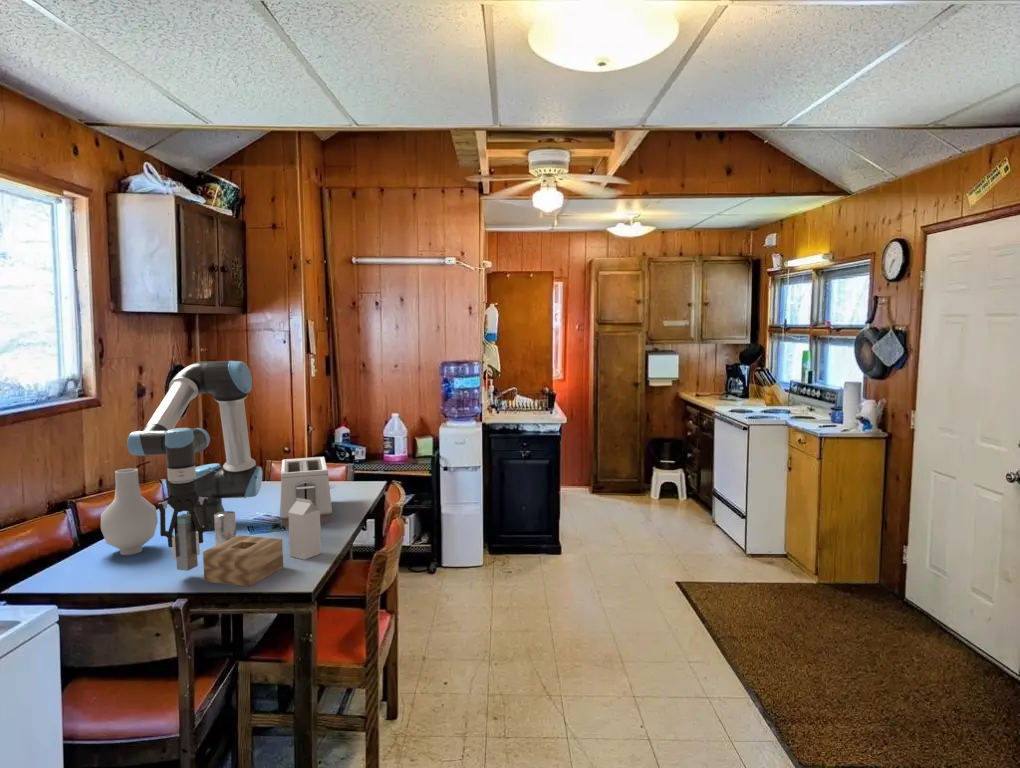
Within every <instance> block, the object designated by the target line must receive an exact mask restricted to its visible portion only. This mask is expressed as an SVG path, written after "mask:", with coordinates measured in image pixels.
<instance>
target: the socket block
mask: <svg viewBox="0 0 1020 768" xmlns="http://www.w3.org/2000/svg"><path fill="white" fill-rule="evenodd" d="M283 547H284V546H283V538H275V537H264V536H251V535H241V534H240V535H239V534H238V535H236V537H234V538H232V539H230V540H227V541H225V542H223V543H221V544H219V545H217V546H216V545H215V546H212V547H211V548H208V549H206V550H204V551H202V560H203V561H202V562H203V580H204V582H208V583H217V584H225V585H234V586H235V585H236V586H243V587H252V586H254V585H256V584H257V583H258V582H260V581H262V580H263V579H266V578H267V577H268V576H271V575H272V574H274V573H275V572H277V571H279V570H280V569H282V568H284V549H283ZM273 572H274V573H273Z"/></svg>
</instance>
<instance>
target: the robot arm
mask: <svg viewBox="0 0 1020 768" xmlns="http://www.w3.org/2000/svg"><path fill="white" fill-rule="evenodd" d="M252 383H253V377H252V374H251V370H250V368H249V366H248V365H247V364H246V363H245V362H244V361H239V360H236V361H235V360H220V361H219V360H216V361H214V360H213V361H207V360H205V361H198V362H194V363H191V364H190V365H187V366H186V367H184V368H182V369H181V370H180V371H178V373H176V374H175V375H174V376H173V378H171V381H170V382H169V383H168V384H169V385H168V391H167V392H166V394H165V395H164V398H163V399H162V401H161V402H160V403H159V405H158V406H157V408H156V409H155V411H154V413H153V414H152V415H151V417H150V419H149V421H148V422H147V424H146V425H145V427H143V429H142V430H138V431H132V432H131V433H129V434H128V437H127V442H126V444H127V445H126V446H127V449H128V452H129V453H130V454H131V455H132V456H142V457H143V456H144V457H147V456H148V457H149V456H165V457H166V470H167V481H169V482H168V483H167V489H168V498H167V500H165V501H159V502H158V503H157V508H158V509H159V513H160V514H159V515H160V516H159V519H160V520H159V523H160V527H159V530H160V534H159V535H160V537H166V538H167V546H168V548H172V558H173V559H176V545H175V534H174V531H175V530H174V526H175V523H176V519H177V516H179V515H178V514H179V513H182V512H186V514H191V516H192V519H193V521H194V523H195V527H196V549H197V556H200V554H201V553H200V552H201V550H200V544H203V543H204V532H206V531H212V530H215V521H214V515H215V514H216V513H219V512H224V511H225V508H224V506H223V501H222V499H239V498H240V499H242V498H244V499H246V498H254V497H256V496H257V495H259V493H260V491H261V487H262V482H263V468H262V467H261V466H259V465H257V463H256V460H255V459H253V458H252V456H251V448H250V441H249V440H250V439H249V432H248V430H249V429H248V422H247V421H248V420H247V416H246V414H247V413H246V407H245V400H246V399H247V397H248V395H249V394H248V393H250V392H251V391H252V389H253V384H252ZM200 394H201V395H202V394H212V395H213V396H212V397H213V400H214V401H215V402H216V403H218V405H219V415H220V420H221V421H220V422H221V428H222V436H223V444H224V452H225V460H226V461H225V463H224V464H223V465H222V466H221V464H220V463H208V464H203V465H199V466H196V457H195V456H196V455H197V454H199V453H202V452H203V451H205V449H206V448H207V447H208V446H209V445H210V441H211V437H210V434H209V433H208V431H207V430H206V429H203V428H200V427H196V428H189V427H176V425H177V424H178V422H179V420H180V419H181V417H182V416H183V414H184V412H185V411H186V409H187V407H188V405H189V403H190V402H191V401H192V400H194V399H195V398H196V397H197V396H198V395H200ZM175 427H176V428H175ZM168 505H169V506H170V507H171V508H172V510H173V513H172V517H171V519H170V520H171V521H170V523H169V527H168V530H166V509H167V508H168Z"/></svg>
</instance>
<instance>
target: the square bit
mask: <svg viewBox="0 0 1020 768" xmlns="http://www.w3.org/2000/svg"><path fill="white" fill-rule="evenodd" d="M173 531H174V535H175V545H176V558H175V559H176V561H175V562H176V570H178V571H187V572H188V571H190V570H193V569H195V568H196V567H198V566H199V564H198V563H199V562H198V561H199V560H198V555H197V549H196V532H197V531H196V527H195V523H194V521H193V519H192V516H191V514H187V513H182V514H179V515H177V519H176V523H175V526H174V530H173Z"/></svg>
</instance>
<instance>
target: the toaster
mask: <svg viewBox="0 0 1020 768" xmlns="http://www.w3.org/2000/svg"><path fill="white" fill-rule="evenodd" d="M281 470H282V471H281ZM281 470H280V471H281V472H280V473H281V475H280V507H279V508H280V509H279V511H280V513H279V516H280V524H281V526H284V527H283V528H286V527H287V528H289V514H288V512H289V510H290V509H291V508H292V506H293V505H294V504H295V502H296V498H301V499H306V500H311V502H312V503H313V505H314V506H315V507H316V508H318V509H319V510H320V524H327V523H333V517H332V514H333V513H332V512H333V508H332V507H333V506H332V500H331V491H330V490H331V488H330V478H329V470H328V466H327V463H326V457H325V456H314V457H302V458H301V457H300V458H286V459H285V458H284V459H282V460H281Z"/></svg>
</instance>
